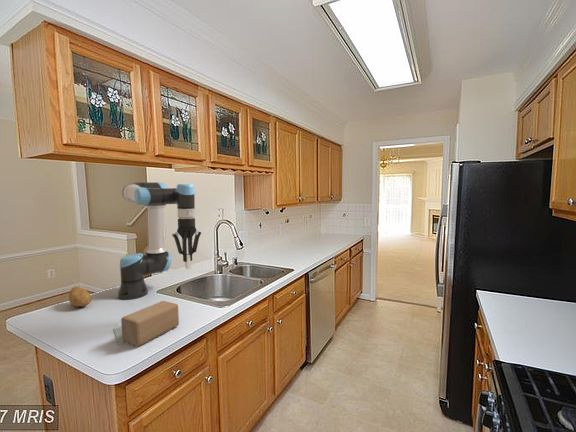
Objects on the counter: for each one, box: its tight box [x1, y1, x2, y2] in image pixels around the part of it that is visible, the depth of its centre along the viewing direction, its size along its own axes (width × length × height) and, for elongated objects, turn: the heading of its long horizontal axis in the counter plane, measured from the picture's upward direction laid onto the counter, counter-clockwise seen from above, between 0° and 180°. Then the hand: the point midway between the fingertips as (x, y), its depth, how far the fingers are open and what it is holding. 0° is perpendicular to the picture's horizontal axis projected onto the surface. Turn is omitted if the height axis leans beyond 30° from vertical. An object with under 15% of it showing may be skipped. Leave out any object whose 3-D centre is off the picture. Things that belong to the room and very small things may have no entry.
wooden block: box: [120, 300, 180, 347], centre depth 118 cm, size 10×10×20 cm
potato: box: [68, 286, 92, 308], centre depth 148 cm, size 9×16×9 cm, turn 48°
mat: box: [113, 326, 174, 346], centre depth 122 cm, size 16×20×1 cm
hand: (188, 268), depth 133 cm, fingers closed
